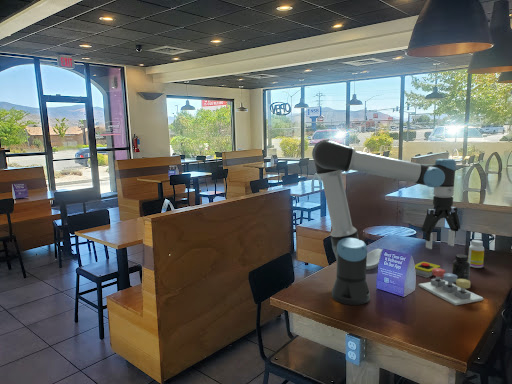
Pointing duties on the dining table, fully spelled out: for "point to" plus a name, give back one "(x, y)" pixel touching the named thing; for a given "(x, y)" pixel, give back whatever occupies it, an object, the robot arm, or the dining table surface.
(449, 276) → the slate button
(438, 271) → the red button
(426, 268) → the emergency button
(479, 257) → the supplement bottle
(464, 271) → the supplement bottle
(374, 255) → the spoon rest
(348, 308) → the dining table surface
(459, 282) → the ochre button
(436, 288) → the console
